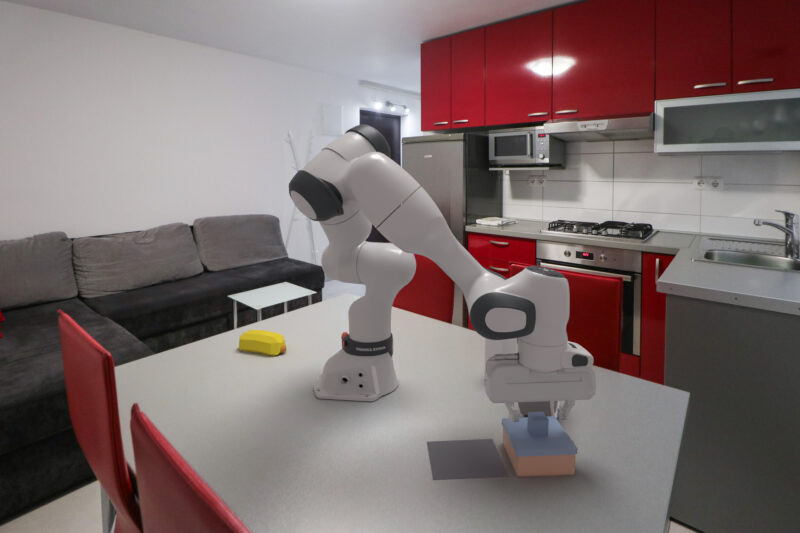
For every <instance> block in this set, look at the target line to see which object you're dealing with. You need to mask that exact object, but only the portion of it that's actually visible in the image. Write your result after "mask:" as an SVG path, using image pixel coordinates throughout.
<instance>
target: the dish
mask: <svg viewBox="0 0 800 533" xmlns="http://www.w3.org/2000/svg"><path fill="white" fill-rule="evenodd" d="M502 446H503V448H504V450H505V452H506V454H507V457H508V459H509V461H510V462H511V465H512V467H513V469H514V471H515V474H516V477H517V478H532V477H555V476H574V475H575V471H576V469H575V468H576V458H577V457H576V455H577V454H570V455H547V456H525V457H518V456H517V454H516V452H515V450H514V448H513V446H512V444H511V442H510V440H509V438H508V436H507V434H506V432H505V430H504V427H503V426H502Z"/></svg>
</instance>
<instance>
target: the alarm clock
mask: <svg viewBox="0 0 800 533" xmlns="http://www.w3.org/2000/svg"><path fill="white" fill-rule="evenodd" d="M517 404H518V409H519V413H520V414H521V415H523V416H528V412H544V414H545V415H546V417H548V416H555V418H556V419H558V417H557V413H558V412H557V408H560V405H561V401H540V402H517Z"/></svg>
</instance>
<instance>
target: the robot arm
mask: <svg viewBox="0 0 800 533" xmlns="http://www.w3.org/2000/svg"><path fill="white" fill-rule="evenodd" d="M391 158H392V154H391V149H390V145H389V143H388V141H387V140H386V138H385V136H384V135H383V134H382V133H381V132H380V131H379V130H378V129H377V128H375V127H373V126H371V125H368V124H366V123H365V124H363V123H361V124H358V125H355V126H353V127H351V128H349V129H347V130H346V131H345V132H344V134H342V135H341V136H338V138H336V139H334V140H333V141H331V142H330V143H328V144H327V145H326V146H325V147H323V148H322V149H321V151H320V152H318V154H316V155H315V156H314V157H312V159H311V160H309V162H308V163H307V164H306V165H305V166H304V167H303V168H302V169H300V170H298V171H297V172H296V173H295V175H293V177H292V178H291V180H290V181H289V183H288V195H289V196H290V199H291V200H292V202H293V205H294V206H295V208H296V209H297V210H298V211H299V212H300V213H301V214H302V215H303V216H306V217H307V218H308V220H309V219H310V220H312V221H313V222H318V223H319V224H320V226H321V228H322V230H323V231H324V233H325V236H326V238H327V240H328V243H329V244H328V245H327V246H326V247H325V249H324V250H323V252H322V254H321V259H320V261H321V262H320V264H321V269H322V271H323V273H324V275H325V276H326V277H327V278H330V279H332V280H335V281H338V282H341V283H345V284H355V285H363V286H365V293H364V295H363V296H361V297H359V298H357V299H356V300H354V301H353V302H352V303H351V304H350V305H349V306H350V307H349V308H348V312H347V316H348V332H349V333H348V332H347V331H343V332H342V334H341V337H340V339H341V349H339V351H337V352H336V353H335V354H333V355H332V356H330V357H329V358H328V359H327V360H326V362H325V364H324V366H323V368H322V369H323V370H322V373H321V374H320V375H319V376H318V377H317V378H316V379H315V382H314V386H313V393H314V396H315V397H316V398H317V399H323V400H336V401H337V400H339V401H357V402H375V401H377V400H378V399H380V398H381V397H383V396H385V395H388V394H390V393H392V392H394V391H395V390H396V389H397V387H399V380H398V378H397V374H396V370H395V366H394V365H395V364H394V360H393V358H394V357H393V355H394V336H393V333H392V310H393V305H394V301H395V299H396V296H397V295H398V294H399V292H400V291H401V290H402V289H403V288H404V287H405V286H407V285H408V284H409V283H410V282H411V281H412V280H413V278H414V276H415V274H416V270H417V261H416V257H415V255H419V256H423V257H425V258H428V259H429V260H431V261H432V262H433V263H435V264H436V265H437V266H438V267H439V268H440V269H441V270H442V271H443V272H444V273H445V274H446V275H447V276H448V277H449V278H450V279H451V280H452V281H453V282H454V283H455V284H456V285H457V286H458V287H459V288H460V291H461V292H462V294H463V297H464V300H465V304H466V306H467V310H468V311H467V312H468V316H469V320H470V323H471V326H472V328H473V330H474V331H475V332H476V333H477V334H478V335H480V336H481V337H483V338H484V339H485V338H487V339H490V340H505V339H513V338H517V351H516V353H509V354H495V355H494V356H493V357H490V358H489V359H488V360H487V362H486V373H487V380H486V383H485V393H486V397H487V398H488V399H489V401H490V402H491V403H492V404H504V405H505V407H506V409H507V410H508V418H509V419H510V421H511V422H519V418H520V412H519V411H518V410H517V409H513V408H514V407H515V403H518V402H540V401H560V402H561V401H564V402H563V404H562V406H561V407H559V408H557V412H558V413H557V419H558V421H568V420H569V414H570V411H571V410H572V409H573V408H574V406H575V405H576V401H583V400H584V401H585V400H586V401H588V400H591V399H592V398H594V396H595V395H596V390H597V389H596V387H597V382H596V379H597V378H596V372H595V369H594V368H593V365H594V361H595V360H594V356H593V355H592V354H591V353H590V352H589V351H588V350H587V349H586V348H584V347H583V346H582V345H580V344H579V343H576V342H572V341H569V339H568V338H569V337H568V332H567V324H568V323H569V319H570V307H571V306H570V304H571V303H570V301H571V300H570V286H569V281H568V278H566V276H565V275H564V274H562V273H561V272H560V271H558V270H556V269H552V268H550V267H546V266H541V265H529V266H526V267H525V268H524V269H523V270H521V271H520V272H518V273H516V274H515V275H514V276H511V277H509V278H506V277H505V276H504V275H502V274H500V273H499V272H495V271H494V270H490V269H489V268H487V267H484V266H483V265H482V264H481V263H480V262H479V261H478V260H477V258H475V257H474V256H473V255H472V254H471V253H470V252H469V251H468V250H467V249H466V247H465V246H464V245H463V244H461V242H460V241H459V240H458V239H457V238H456V237H455V235H454V234H453V232H452V230H451V229H450V226H449V225H448V222H447V220H446V219H445V217H444V215H443V213H442V212H441V210H440V209H439V206H437V203H436V202H435V201H434V200H433V198H432V197H431V196H430V194H428V191H426V189H425V188H423V186H421V184H419V182H418V181H417V180H416V179H415V178H414V177H413V176H412V175H411V174H410V173H408V171H407V170H405V169H404V168H403V167H402V166H401V165H400V164H399V163H397V162H396V161H395V160H393V159H391ZM373 226H374V228H376V230H377V231H378V232H379V233H380V234H381V235H382V236H383V237H384V238H385V239H386V240H387V241H389V242H376V241H375V242H373V241H367V239H368V238H369V237H370V234H371V233H372V229H373ZM493 358H494V359H493Z"/></svg>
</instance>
